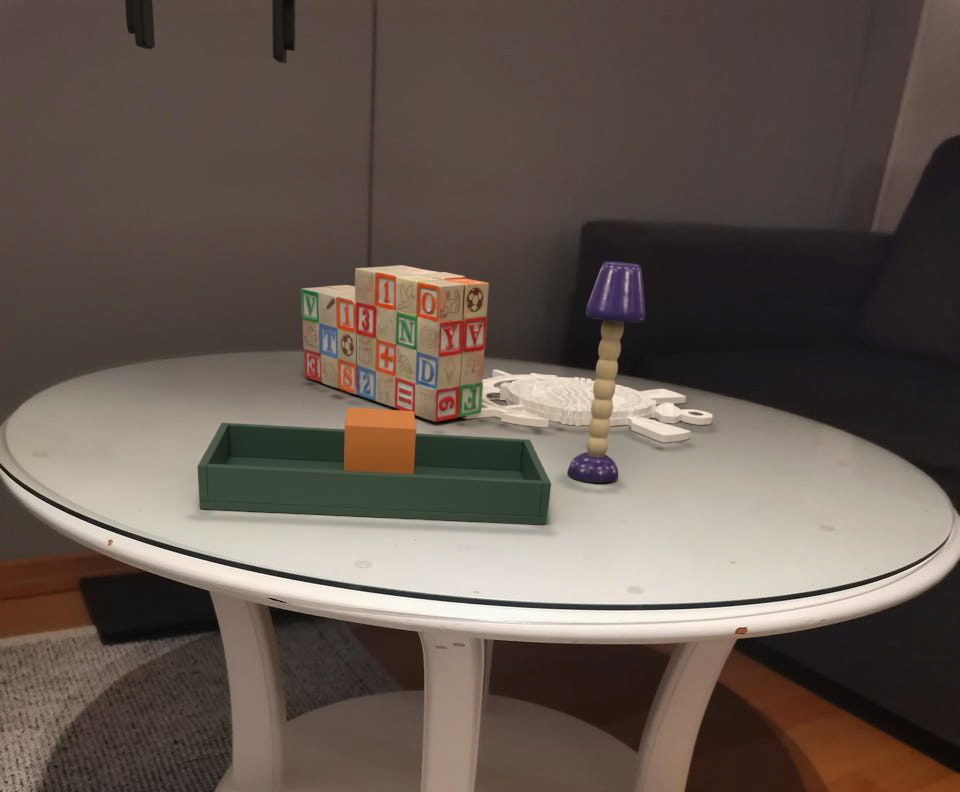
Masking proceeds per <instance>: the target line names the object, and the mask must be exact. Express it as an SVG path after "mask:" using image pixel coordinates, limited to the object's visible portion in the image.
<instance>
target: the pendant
mask: <svg viewBox="0 0 960 792" xmlns="http://www.w3.org/2000/svg"><path fill="white" fill-rule="evenodd" d="M491 374H492V375H491V377H488V378H483V379H482V382H483V391H482V405H481V413H477V414H472V415H467V416H462V417H460V418H461V419H464V420H469V419H481V418H491V417H496V418H499V419H500V422H503V423H509V424H514V425H519V426H527V427H537V428H549V426H550V425H549V424H550V422H554V423H555V422H556V423H560V424H562V425H569V426H575V427H581V426H589V423H590V420H591V418H592V414H591V404H592V401H593V399H594V398H595V397H594V394H593V386H594V382H595V380H592V379H591V378H586V377H578V376H574V377H564V376H558V375H555V374H541V373H535V372H530V374H512V373H509V372H506V371H503V370H500V369H492V373H491ZM686 399H687V396H686V395H684V394H681V393H679V392H675V391H673V390H669V389H666V388H655V389H648V390H640V391H639V390H637V389H634V388H631V387H628V386H623V385H620V384H615V393H614V395H613V397H612V402H613V411H612V414H611V416H610V418H609V419H610V427H616V426H628V427H630V431H633V432H635V433H637V434H640V435H643V436H645V437H647V438H650V439H653V440H655V441H657V442H660V443H663V444H664V443H675V442H681V441H686V440H689V439H690V436H691V430H688V429H684V428H682V427H677V426H675V424H677V423H679V422H682V423H686V424H690V425H699V426H705V425H711V424H712V422H713V416H714V415H713V414H712V413H710V412H708V411H704V410H699V409H692V408H691V409H690V408H689V409H687V408H685V409H680V407H678V406H676V405H675V404H677V405H678V404H685V403H686ZM491 400H499V401H505V402H506V404H507V405H500V404H497V403H495V402H493V401H491ZM651 418H652V419H651ZM654 419H655V420H654ZM671 424H672V425H671ZM673 424H674V425H673Z"/></svg>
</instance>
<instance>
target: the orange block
mask: <svg viewBox="0 0 960 792" xmlns="http://www.w3.org/2000/svg"><path fill="white" fill-rule="evenodd" d="M416 425H417V424H416V415H415V414H414V411H402V410H399V409H384V408H383V409H381V408H380V409H379V408H364V407H346V414H345V420H344V429H345V439H344V471H362V472H382V473H402V474H414V459H415V440H416V433H417V426H416Z"/></svg>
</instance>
